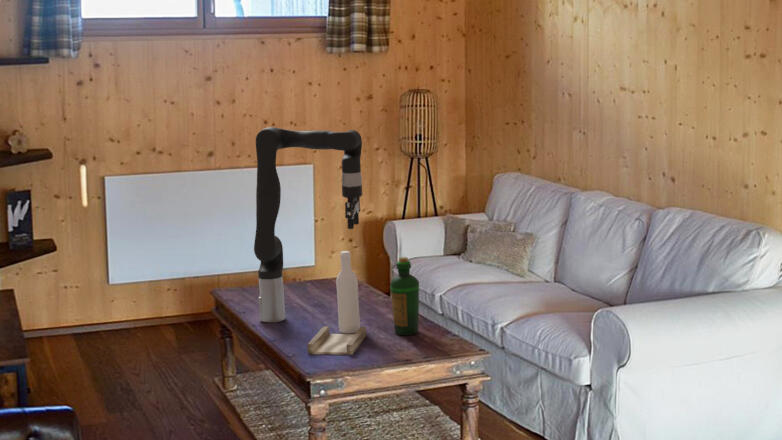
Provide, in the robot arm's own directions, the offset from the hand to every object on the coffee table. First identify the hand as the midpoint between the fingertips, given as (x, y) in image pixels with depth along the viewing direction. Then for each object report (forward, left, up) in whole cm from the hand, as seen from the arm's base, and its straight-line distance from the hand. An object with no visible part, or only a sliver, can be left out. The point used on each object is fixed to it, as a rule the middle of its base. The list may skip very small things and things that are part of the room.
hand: (353, 226), depth 408 cm
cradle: (-1, -30, -37) cm, 48 cm away
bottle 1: (-1, -12, -37) cm, 39 cm away
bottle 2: (+21, -14, -37) cm, 45 cm away
